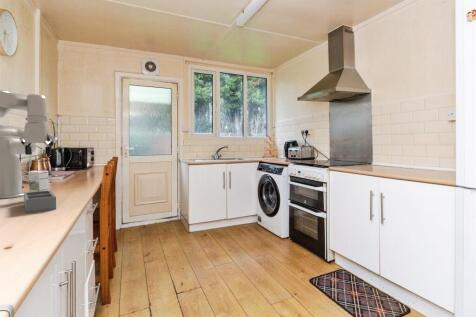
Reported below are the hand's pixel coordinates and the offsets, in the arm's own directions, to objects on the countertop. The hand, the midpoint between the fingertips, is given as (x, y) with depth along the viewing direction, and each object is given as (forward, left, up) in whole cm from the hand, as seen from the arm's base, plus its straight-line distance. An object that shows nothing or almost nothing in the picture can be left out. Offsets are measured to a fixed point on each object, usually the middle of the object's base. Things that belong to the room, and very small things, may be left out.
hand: (38, 154), depth 125 cm
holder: (+11, -15, -23) cm, 29 cm away
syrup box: (0, 0, -23) cm, 23 cm away
